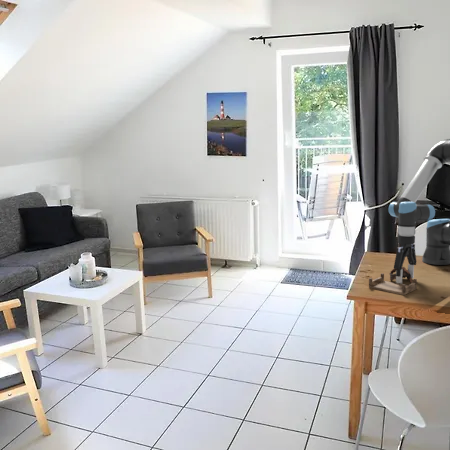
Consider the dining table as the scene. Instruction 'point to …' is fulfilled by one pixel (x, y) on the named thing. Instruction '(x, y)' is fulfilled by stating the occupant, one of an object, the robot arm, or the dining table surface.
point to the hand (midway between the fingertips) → (404, 280)
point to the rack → (391, 286)
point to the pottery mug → (404, 274)
